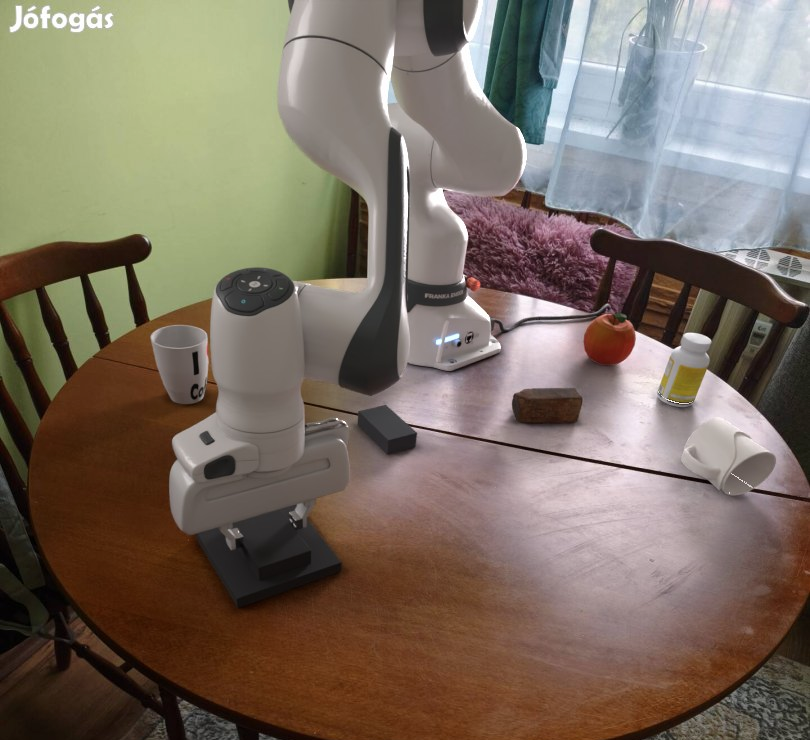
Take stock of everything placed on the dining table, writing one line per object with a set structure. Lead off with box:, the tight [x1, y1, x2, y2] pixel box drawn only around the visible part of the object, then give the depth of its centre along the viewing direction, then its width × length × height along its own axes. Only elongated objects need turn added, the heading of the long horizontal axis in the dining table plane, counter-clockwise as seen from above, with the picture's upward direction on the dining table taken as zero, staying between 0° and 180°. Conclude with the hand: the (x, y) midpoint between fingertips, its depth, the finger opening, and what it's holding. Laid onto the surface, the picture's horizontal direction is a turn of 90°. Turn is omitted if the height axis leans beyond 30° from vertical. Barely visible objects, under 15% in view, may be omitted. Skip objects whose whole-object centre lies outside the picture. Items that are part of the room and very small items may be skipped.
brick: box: [511, 387, 584, 424], centre depth 113 cm, size 11×4×5 cm, turn 100°
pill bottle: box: [657, 332, 712, 408], centre depth 120 cm, size 6×6×12 cm
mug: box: [680, 417, 777, 497], centre depth 102 cm, size 12×9×8 cm
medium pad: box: [232, 509, 311, 581], centre depth 81 cm, size 6×10×2 cm, turn 33°
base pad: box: [195, 504, 343, 609], centre depth 83 cm, size 13×13×2 cm
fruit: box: [582, 311, 637, 366], centre depth 131 cm, size 10×10×10 cm
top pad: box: [356, 404, 418, 455], centre depth 105 cm, size 5×9×2 cm, turn 32°
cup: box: [150, 324, 209, 405], centre depth 106 cm, size 8×8×10 cm
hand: (266, 535), depth 81 cm, fingers closed on medium pad, 6 cm apart
